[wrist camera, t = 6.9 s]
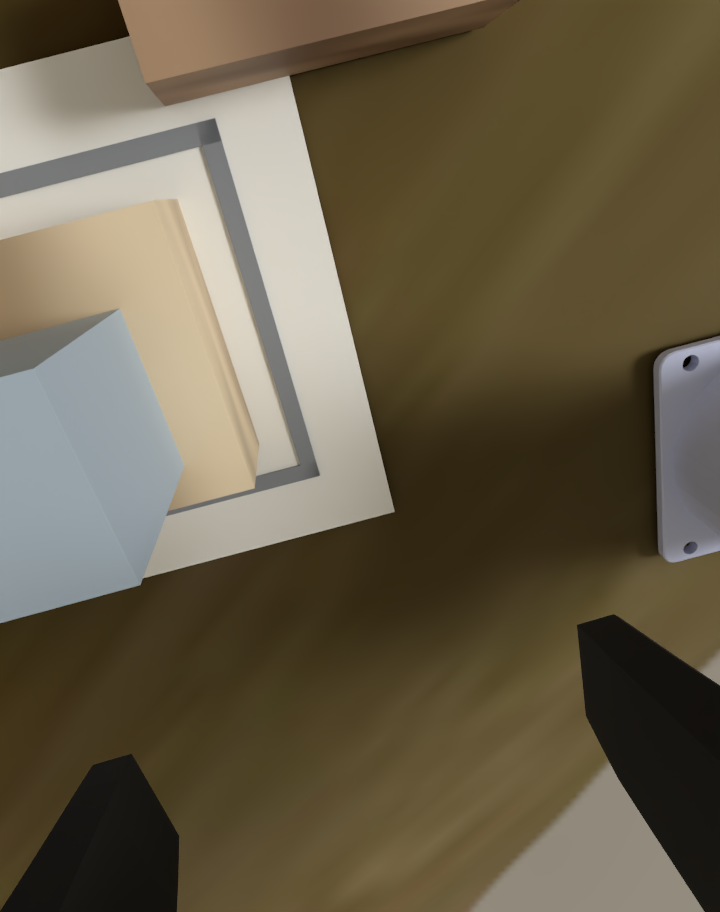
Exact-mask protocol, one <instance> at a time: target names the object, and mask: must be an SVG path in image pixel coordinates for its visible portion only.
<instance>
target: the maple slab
mask: <svg viewBox="0 0 720 912" xmlns="http://www.w3.org/2000/svg"><path fill="white" fill-rule="evenodd" d="M116 309H120V310H121V312H122V314H123V317H124V319H125V322H126V324H127V327H128V329H129V331H130V334H131V336H132V339H133V341H134V344H135V346H136V349H137V351H138V353H139V356H140V358H141V361H142V363H143V366H144V368H145V370H146V373H147V375H148V378H149V380H150V383H151V385H152V388H153V390H154V392H155V395H156V397H157V400H158V402H159V405H160V407H161V409H162V412H163V414H164V417H165V419H166V422H167V424H168V426H169V429H170V431H171V434H172V436H173V439H174V441H175V444H176V446H177V448H178V451H179V453H180V456H181V458H182V461H183V463H184V465H185V466H184V469H183V471H182V474H181V477H180V480H179V482H178V485H177V488H176V490H175V493H174V496H173V498H172V501H171V504H170V507H169V509H168V511H170V510H174V509H178V508H182V507H186V506H189V505H193V504H197V503H201V502H205V501H208V500H212V499H216V498H220V497H224V496H228V495H231V494H235V493H239V492H243V491H247V490H250V489H254V488H255V480H256V471H257V461H258V452H259V441H258V438H257V435H256V432H255V429H254V426H253V424H252V421H251V418H250V415H249V412H248V409H247V406H246V403H245V400H244V397H243V394H242V391H241V388H240V385H239V382H238V379H237V376H236V373H235V370H234V367H233V364H232V361H231V358H230V355H229V352H228V349H227V346H226V343H225V340H224V337H223V334H222V331H221V328H220V325H219V322H218V319H217V316H216V313H215V310H214V307H213V304H212V301H211V298H210V295H209V292H208V289H207V286H206V283H205V280H204V277H203V274H202V271H201V268H200V265H199V262H198V259H197V256H196V253H195V250H194V247H193V244H192V241H191V238H190V235H189V232H188V229H187V226H186V223H185V220H184V217H183V214H182V211H181V208H180V205H179V202H178V199H168V200H153V201H149V202H145V203H141V204H138V205H134V206H130V207H126V208H122V209H118V210H114V211H110V212H107V213H103V214H99V215H95V216H91V217H87V218H83V219H79V220H76V221H72V222H68V223H64V224H60V225H56V226H52V227H48V228H45V229H41V230H37V231H33V232H29V233H25V234H21V235H17V236H14V237H10V238H6V239H2V240H0V341H1V340H5V339H9V338H12V337H16V336H20V335H23V334H27V333H31V332H34V331H38V330H42V329H46V328H49V327H53V326H57V325H60V324H64V323H68V322H72V321H75V320H79V319H83V318H86V317H90V316H94V315H97V314H101V313H105V312H109V311H112V310H116Z"/></svg>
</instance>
